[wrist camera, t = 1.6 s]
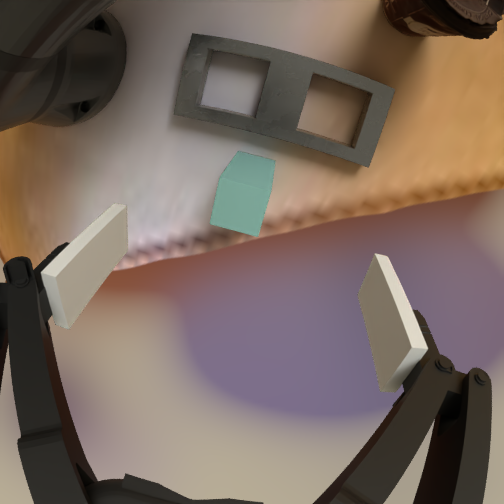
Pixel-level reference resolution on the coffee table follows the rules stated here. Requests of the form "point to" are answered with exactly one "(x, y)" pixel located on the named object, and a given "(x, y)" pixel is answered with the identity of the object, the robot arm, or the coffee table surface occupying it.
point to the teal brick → (243, 193)
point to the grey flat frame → (283, 97)
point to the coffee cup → (445, 17)
